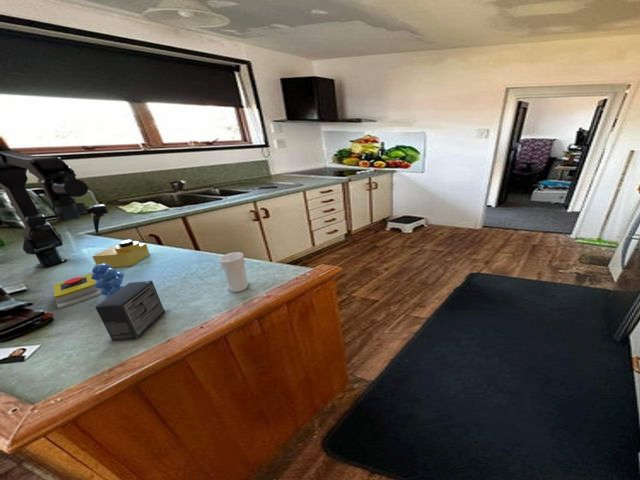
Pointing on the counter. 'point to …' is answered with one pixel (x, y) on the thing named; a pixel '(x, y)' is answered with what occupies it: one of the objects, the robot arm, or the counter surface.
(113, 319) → the small box
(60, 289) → the emergency button
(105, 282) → the grapes
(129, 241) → the press button
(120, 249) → the yellow angular block
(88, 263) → the counter surface
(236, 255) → the cup
